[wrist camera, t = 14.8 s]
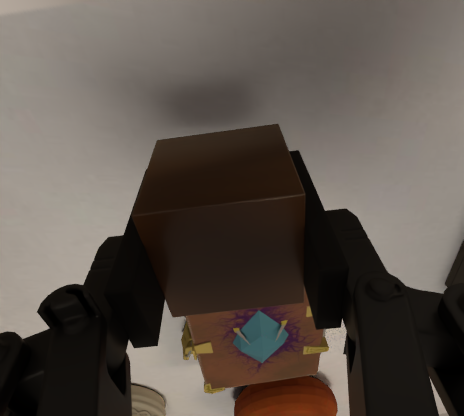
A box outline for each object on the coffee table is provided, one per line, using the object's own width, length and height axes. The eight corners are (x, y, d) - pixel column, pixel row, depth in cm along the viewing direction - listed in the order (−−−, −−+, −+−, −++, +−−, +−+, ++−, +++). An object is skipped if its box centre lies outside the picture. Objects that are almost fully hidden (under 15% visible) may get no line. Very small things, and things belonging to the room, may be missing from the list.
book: (331, 197, 28) (355, 235, 24) (314, 347, 43) (326, 386, 39) (145, 222, 28) (137, 265, 24) (192, 366, 43) (192, 407, 39)
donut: (330, 405, 53) (340, 441, 49) (240, 416, 54) (243, 452, 50) (332, 360, 44) (344, 399, 40) (224, 374, 45) (225, 414, 41)
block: (278, 123, 13) (306, 193, 9) (282, 218, 16) (304, 303, 12) (156, 139, 13) (130, 215, 9) (183, 231, 16) (171, 318, 12)
